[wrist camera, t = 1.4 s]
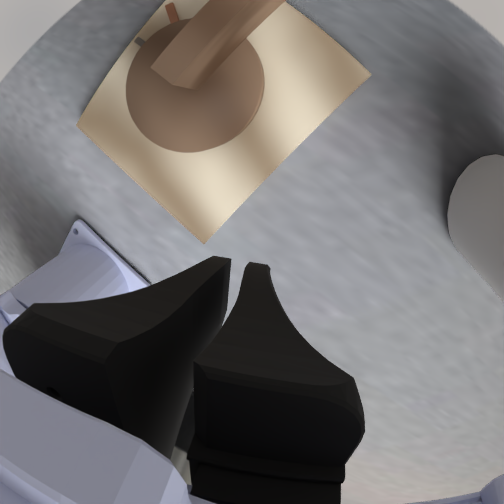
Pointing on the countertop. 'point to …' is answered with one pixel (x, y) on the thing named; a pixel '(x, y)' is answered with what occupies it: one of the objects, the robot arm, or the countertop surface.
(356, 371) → the countertop surface
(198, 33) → the dial
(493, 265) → the can
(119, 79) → the dial plate
